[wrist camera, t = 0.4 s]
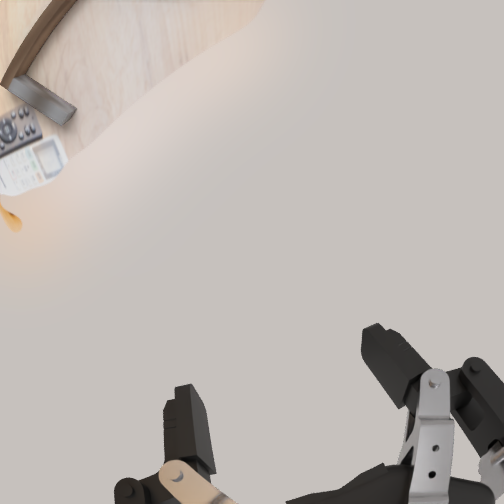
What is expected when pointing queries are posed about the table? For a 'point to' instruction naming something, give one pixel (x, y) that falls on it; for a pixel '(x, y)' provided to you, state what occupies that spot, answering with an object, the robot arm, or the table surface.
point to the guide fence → (25, 55)
